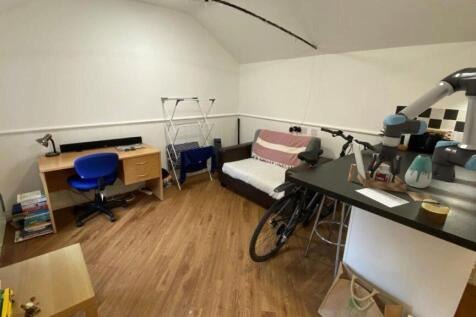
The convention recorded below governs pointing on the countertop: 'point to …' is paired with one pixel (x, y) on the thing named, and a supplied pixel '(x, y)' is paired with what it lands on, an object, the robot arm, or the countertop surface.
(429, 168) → the vase
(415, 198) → the cork mat
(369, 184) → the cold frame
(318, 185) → the countertop surface
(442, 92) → the robot arm
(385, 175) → the pill bottle
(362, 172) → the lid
